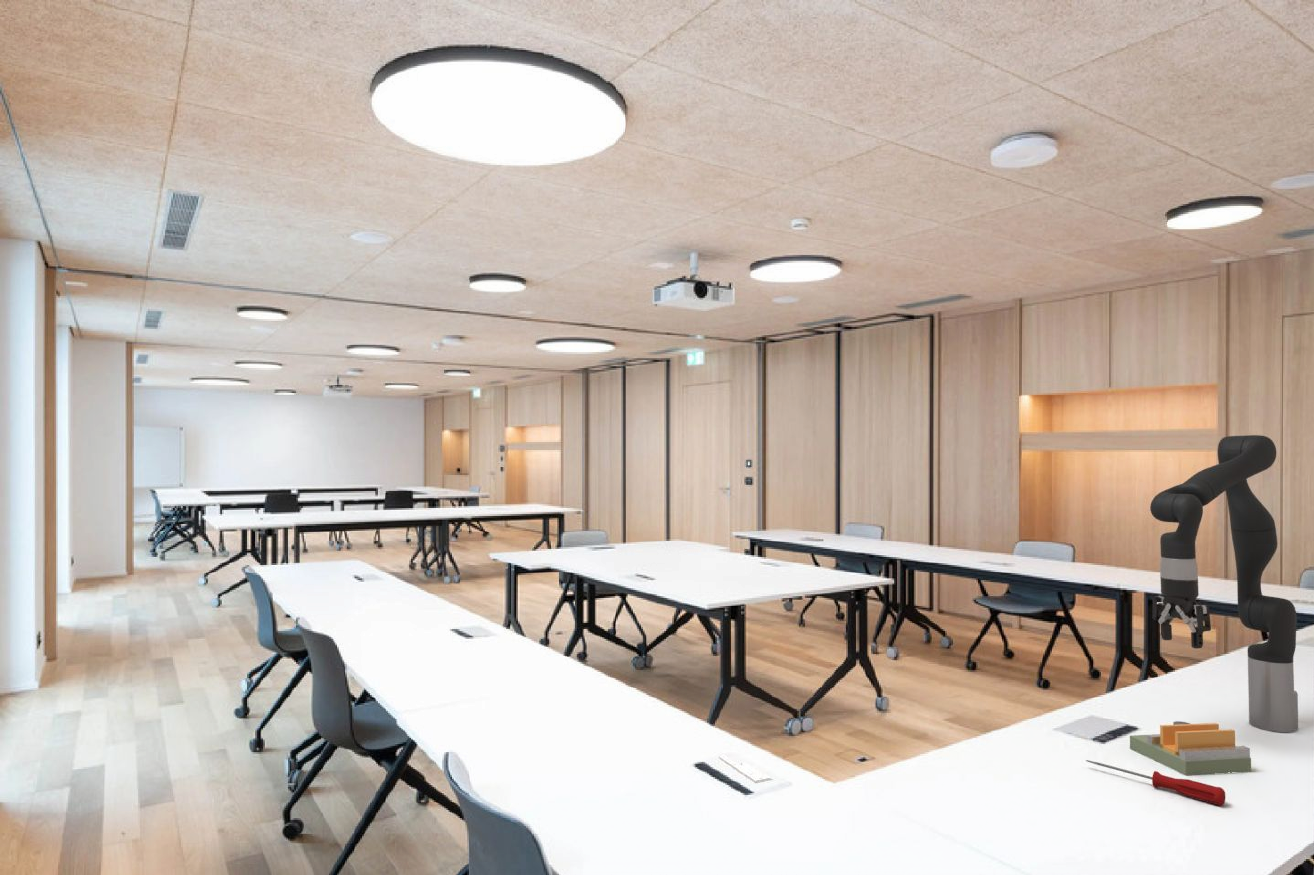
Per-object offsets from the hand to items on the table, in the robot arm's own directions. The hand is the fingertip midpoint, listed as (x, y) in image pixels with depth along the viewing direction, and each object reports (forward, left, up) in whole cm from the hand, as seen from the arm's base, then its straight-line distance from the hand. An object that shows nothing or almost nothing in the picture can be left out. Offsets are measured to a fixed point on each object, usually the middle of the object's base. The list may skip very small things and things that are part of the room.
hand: (1181, 643), depth 184 cm
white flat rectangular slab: (+108, +1, -25) cm, 111 cm away
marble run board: (+7, +9, -24) cm, 26 cm away
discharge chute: (+7, +11, -21) cm, 25 cm away
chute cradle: (+7, +11, -21) cm, 25 cm away
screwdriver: (+27, +21, -24) cm, 41 cm away
